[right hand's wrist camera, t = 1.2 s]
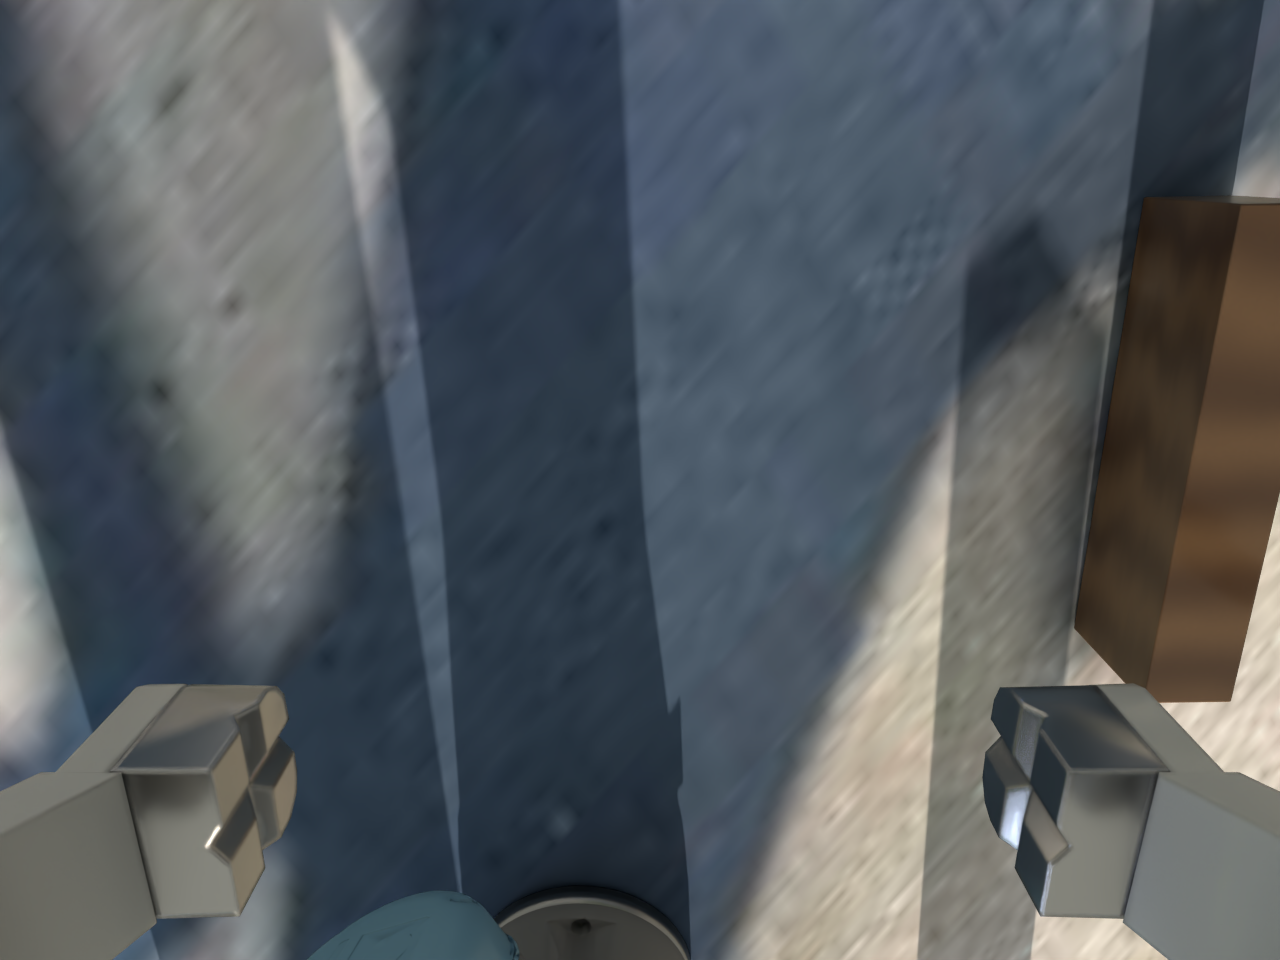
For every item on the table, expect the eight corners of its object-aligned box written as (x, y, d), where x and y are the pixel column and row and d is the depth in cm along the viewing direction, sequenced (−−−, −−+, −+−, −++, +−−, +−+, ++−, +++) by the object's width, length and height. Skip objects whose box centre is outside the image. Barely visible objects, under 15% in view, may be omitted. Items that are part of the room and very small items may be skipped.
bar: (1143, 197, 46) (1241, 203, 38) (1233, 195, 46) (1349, 202, 38) (1073, 628, 54) (1143, 703, 47) (1149, 627, 54) (1231, 702, 47)
